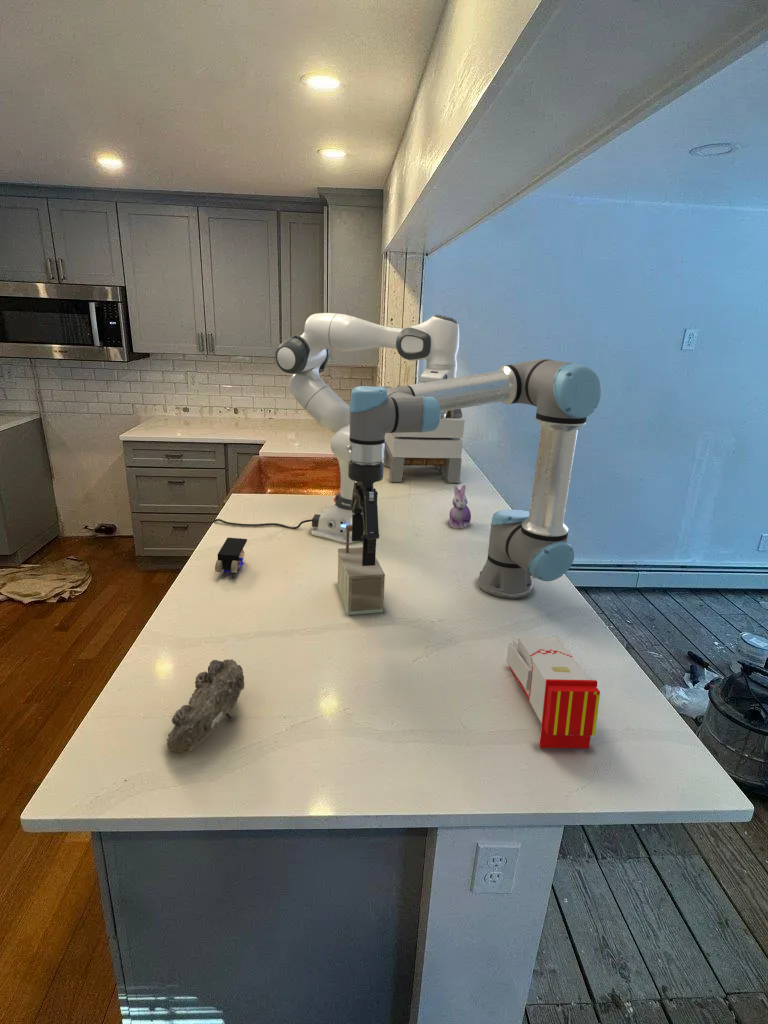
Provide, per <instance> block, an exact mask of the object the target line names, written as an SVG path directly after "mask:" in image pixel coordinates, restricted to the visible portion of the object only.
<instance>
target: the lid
mask: <svg viewBox="0 0 768 1024" xmlns="http://www.w3.org/2000/svg"><path fill="white" fill-rule="evenodd" d="M349 531H352V525H346V543H345V547H342V548H340V547H339V548H337V554H338V553H339V556H340V558H341V561H342V563H343V566H344V569H345V571H346V574H347V576H348V579H349V580H352V579H367V578H382V577H385V578H386V573H385V572H384V570H383V568H382V565H381V564H380V563H379V560H378V558H377V556H375V565H374V566H362V553H363V546H360V547H359V546H358V547H350V543H349Z"/></svg>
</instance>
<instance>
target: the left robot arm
mask: <svg viewBox="0 0 768 1024" xmlns="http://www.w3.org/2000/svg"><path fill="white" fill-rule="evenodd" d="M303 330H304V331H303V333H302V334H300V335H299V334H294V335H293V336H291V337H289V338H287V339H285V340H284V341H282V342H281V343H280V344H278V346H277V348H276V349H275V353H274V357H275V363H276V364H277V367H278V368H279V370H281V371H282V372H284V373H286V374H290V375H291V374H292V375H291V376H290V378H289V381H288V389H289V391H290V393H291V394H292V396H293V397H294V398H295V400H296V401H297V403H298V404H299V405H300V406H301V407H302V408H303V409H304V410H305V412H307V413H308V414H309V415H310V416H311V417H312V419H314V420H315V421H316V423H317V424H319V426H320V427H322V428H323V429H326V430H328V431H331V432H332V433H334V435H333V436H332V438H331V440H330V449H331V452H332V454H333V455H334V457H336V459H337V463H338V468H339V474H340V475H339V476H340V488H339V489H340V490H339V491H338V492H337V494H336V495H335V496H334V497H333V502H334V504H333V505H331V506H329V507H328V508H326V509H325V510H323V512H321V514H318V513H315V514H314V515H313V517H312V518H311V519H305V520H302V521H301V522H299V523H298V525H296V526H288V525H285V524H282V523H276V522H265V523H239V522H238V523H237V522H230V521H226V520H224V519H220V518H215V519H214V520H212V521H211V523H215V522H221V523H224V524H226V525H231V526H240V527H263V526H279V527H281V528H282V527H283V528H285V529H286V528H287V529H291V530H297V529H299V528H300V527H301V525H303V524H305V523H311V527H312V528H311V530H310V533H311V536H315V537H319V538H323V539H326V540H330V541H336V542H339V543H343V544H346V525H352V514H354V513H352V508H351V501H352V494H353V487H354V481H353V480H351V479H350V478H349V477H348V466H349V462H350V459H349V450H347V449H346V447H347V446H349V445H350V443H349V442H350V440H349V438H350V411H349V408H350V404H348V403H346V402H345V400H343V399H342V398H341V397H340V396H339V395H338V394H337V393H336V392H335V391H334V390H333V389H332V388H331V386H329V385H328V384H327V383H326V382H325V381H324V380H323V379H322V378H321V375H320V373H322V372H324V370H325V368H326V365H327V363H328V361H329V359H330V357H331V352H332V351H335V352H345V353H346V352H349V353H350V352H359V351H365V350H370V349H377V348H389V349H393V350H394V349H396V351H397V353H398V355H399V356H400V357H401V358H402V359H404V360H407V361H412V362H413V361H422V360H426V367H425V369H424V371H423V372H422V373H421V374H420V380H419V381H420V383H426V382H432V381H438V380H444V379H451V378H457V369H458V361H457V355H458V352H459V347H460V327H459V323H458V321H457V320H456V319H455V318H453V317H450V316H446V315H441V314H434V315H432V316H431V317H430V318H428V319H427V320H425V321H423V322H421V323H418V324H415V325H411V326H407V327H405V328H401V327H393V326H387V325H386V326H385V325H382V324H378V323H374V322H372V321H369V320H365V319H363V318H359V317H356V316H352V315H349V314H344V313H338V312H337V313H336V312H319V313H318V312H317V313H313V314H311V315H309V316H308V317H307V319H306V321H305V323H304V327H303ZM446 413H447V411H444V412H441V416H440V419H442V420H444V419H445V418H446ZM361 514H362V513H361ZM370 533H373V532H370ZM357 542H358V541H352V531H349V544H352V543H357Z"/></svg>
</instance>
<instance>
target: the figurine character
mask: <svg viewBox="0 0 768 1024" xmlns="http://www.w3.org/2000/svg"><path fill="white" fill-rule="evenodd" d="M247 542H248V538H240V537H226V539H225V541H224V543H223V544H222V546H221V547H220V549H219V551H218V552H217V560H216V562H215V564H214V572H215V573H221V577H222V578H224V577H225V576H226V574H227V573H230V574H231V573H232V574H231V578H234V577H235V575H236V573H237V572H239V571H240V567H242V566H243V565H244V564H245V562H244V558H245V551H244V547H245V546H246V544H247Z"/></svg>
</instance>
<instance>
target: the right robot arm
mask: <svg viewBox="0 0 768 1024" xmlns="http://www.w3.org/2000/svg"><path fill="white" fill-rule="evenodd" d="M602 388H603V387H602V383H601V379H600V376H599V375H597V373H596V371H595V370H594V369H592V368H591V367H589V366H587V365H582V364H580V363H578V362H571V361H561V360H554V359H549V358H540V359H532V360H527V361H521V362H516V363H511V364H506V365H501V366H500V367H498V369H497V370H495V371H488V372H483V373H477V374H470V375H464V376H463V375H462V376H456V378H451V379H444V380H438V381H432V382H426V383H423V382H419V383H412V384H407V385H400V387H397V386H395V387H392V386H388V385H382V386H374V385H373V386H372V385H371V386H370V385H361V386H359V385H358V386H355V387H354V388H352V390H351V393H350V400H349V406H350V408H349V411H350V438H349V440H350V442H349V443H350V445H349V446H347V447H346V449H347V450H349V459H350V462H349V466H348V477H349V478H350V479H351V480H353V481H354V487H353V494H352V501H351V508H352V513H354V514H352V541H357V542H362V547H363V553H362V566H374V565H375V557H377V556H376V555H377V540H379V539H380V529H379V528H380V527H379V511H378V510H379V509H378V496H379V495H378V491H377V490H376V488H374V484H375V483H377V482H381V481H382V480H383V478H384V467H385V466H384V464H383V463H384V453H385V442H386V441H385V438H386V433H405V432H420V433H422V432H428V431H434V430H435V429H436V428H437V427H438V425H439V422H440V416H441V412H444V411H450V410H456V409H461V410H462V409H466V408H471V407H472V408H473V407H479V406H483V405H489V404H495V403H502V404H503V405H512V404H524V405H530V406H534V407H536V412H535V421H536V422H537V423H538V424H539V425H540V432H539V439H538V445H537V446H538V447H537V455H536V462H535V469H534V477H533V483H532V491H531V499H530V506H529V510H523V509H502V510H501V509H500V510H498V511H496V512H494V513H493V514H492V517H491V522H490V532H489V539H488V550H487V559H486V561H485V564H484V565H483V568H482V569H481V570H480V571H479V575H478V579H477V580H478V581H477V586H478V587H479V588H480V590H482V591H483V592H484V593H486V594H488V595H491V596H493V597H496V598H500V599H507V600H517V599H523V598H526V597H528V596H529V595H530V594H531V593H532V591H533V580H532V577H534V578H536V579H537V580H539V581H541V582H552V581H556V580H558V579H560V578H562V577H563V576H564V574H566V573H568V571H569V569H570V568H571V567H572V565H573V563H574V560H575V550H574V548H573V547H572V545H571V544H570V543H568V538H569V537H568V535H569V527H568V526H567V525H566V524H565V522H564V521H565V515H566V508H567V501H568V495H569V490H570V483H571V477H572V470H573V464H574V457H575V451H576V444H577V438H578V432H579V430H580V428H582V427H583V426H584V425H586V424H587V418H588V417H589V416H591V415H592V414H593V413H594V412H595V409H597V408H598V407H599V405H600V403H601V399H602V393H603V391H602V390H603V389H602ZM361 513H362V514H361ZM370 532H373V533H370Z"/></svg>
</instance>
